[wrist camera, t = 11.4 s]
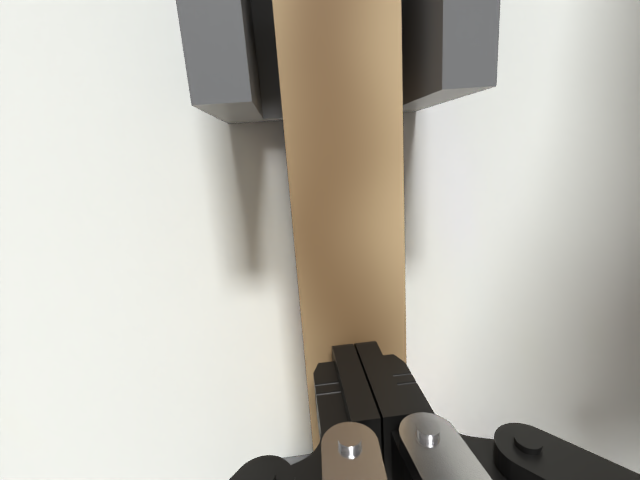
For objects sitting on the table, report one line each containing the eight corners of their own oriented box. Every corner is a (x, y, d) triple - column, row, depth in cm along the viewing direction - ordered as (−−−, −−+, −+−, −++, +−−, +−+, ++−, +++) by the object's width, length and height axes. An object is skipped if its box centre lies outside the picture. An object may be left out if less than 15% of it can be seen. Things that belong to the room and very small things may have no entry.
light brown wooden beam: (367, 16, 13) (400, -39, 10) (384, 514, 19) (409, 605, 15) (273, 20, 13) (269, -35, 9) (320, 524, 19) (329, 619, 15)
